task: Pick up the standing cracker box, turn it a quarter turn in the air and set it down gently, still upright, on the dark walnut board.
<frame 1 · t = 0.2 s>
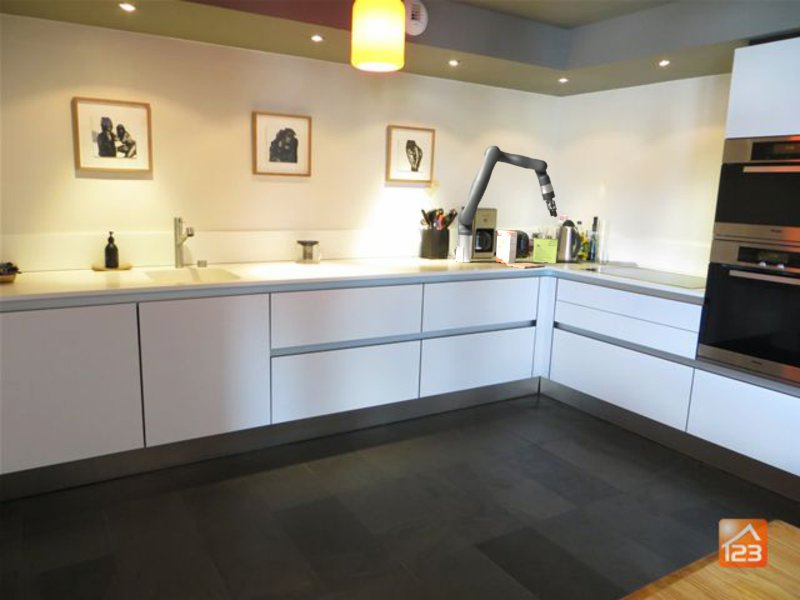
hand: (554, 216, 368), 31 cm above the table, tool tilted 20°, fingers open, 8 cm apart
cracker box: (505, 263, 375), on the table
protein box: (544, 262, 393), on the table
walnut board: (525, 266, 362), on the table
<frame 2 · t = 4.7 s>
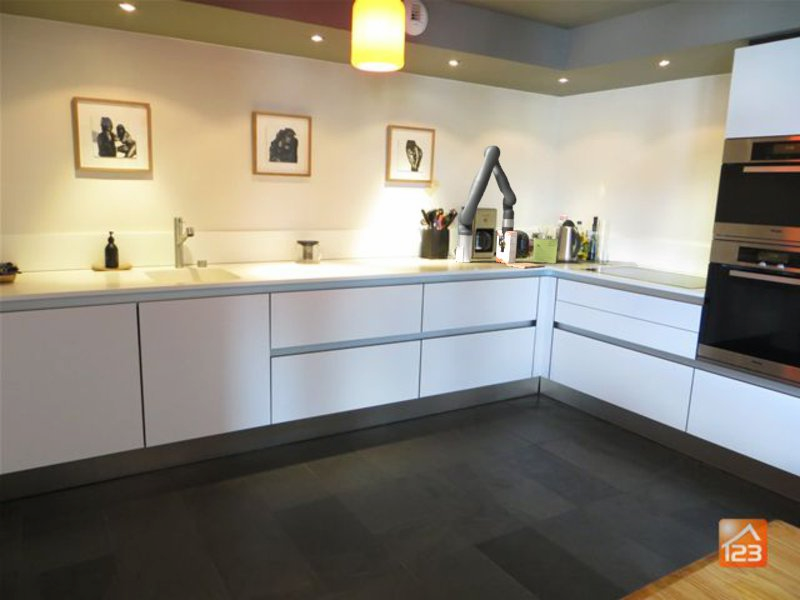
hand: (505, 252, 374), 7 cm above the table, tool pointing down, fingers closed on cracker box, 7 cm apart
cracker box: (505, 263, 375), on the table, touching gripper
everything else where it was.
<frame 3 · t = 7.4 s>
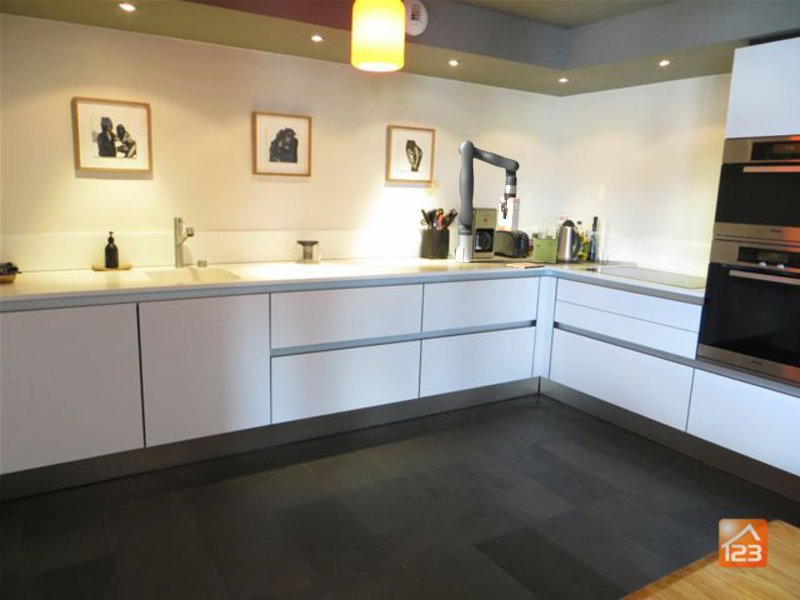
hand: (508, 219, 370), 28 cm above the table, tool pointing down, fingers closed on cracker box, 6 cm apart
cracker box: (507, 230, 371), point 21 cm above the table, touching gripper
everything else where it was.
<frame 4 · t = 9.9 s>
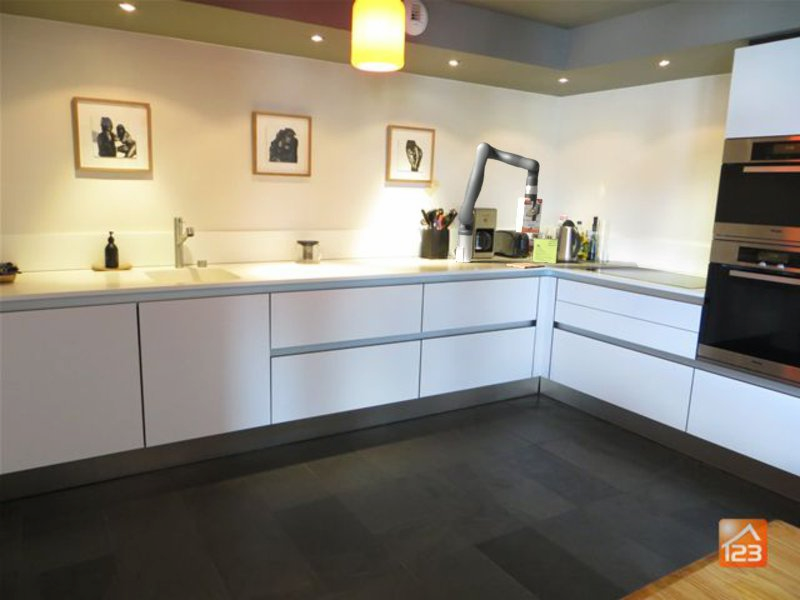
hand: (528, 220, 356), 28 cm above the table, tool pointing down, fingers closed on cracker box, 6 cm apart
cracker box: (527, 232, 358), point 21 cm above the table, touching gripper
everything else where it was.
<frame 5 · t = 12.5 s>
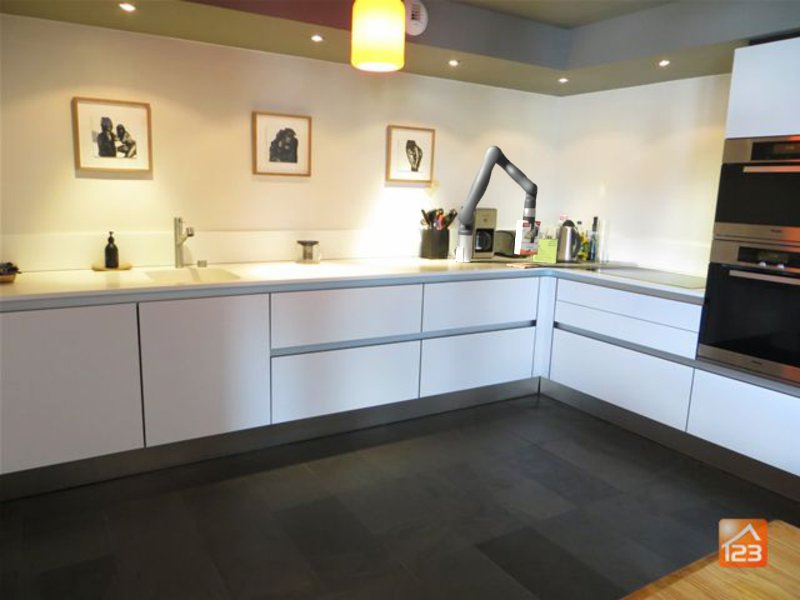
hand: (527, 242, 359), 15 cm above the table, tool pointing down, fingers closed on cracker box, 6 cm apart
cracker box: (526, 254, 360), point 7 cm above the table, touching gripper
everything else where it was.
when the fingers open (10 cm above the table, at t = 15.0 s): cracker box drops 1 cm, resting on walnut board.
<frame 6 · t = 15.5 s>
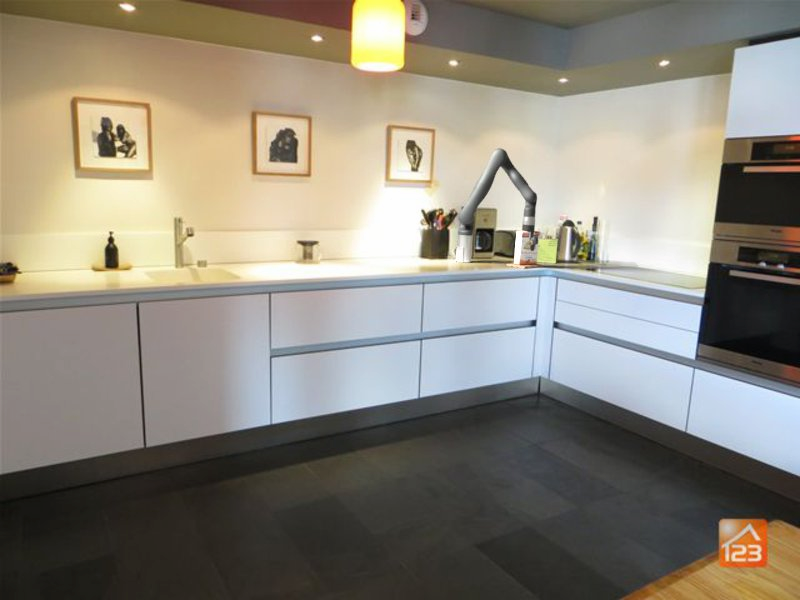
hand: (526, 250, 360), 10 cm above the table, tool pointing down, fingers open, 8 cm apart
cracker box: (525, 264, 361), point 1 cm above the table, touching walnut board
everything else where it was.
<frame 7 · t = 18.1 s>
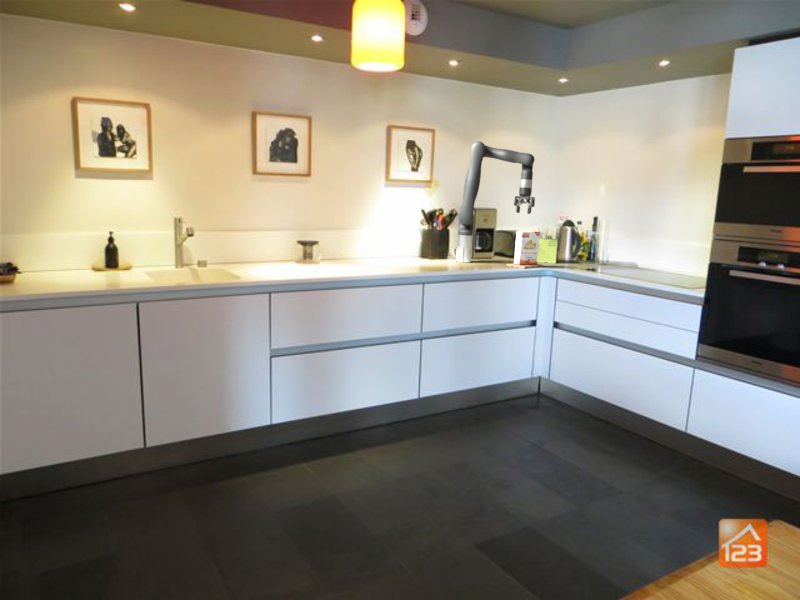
hand: (523, 213, 362), 33 cm above the table, tool pointing down, fingers open, 8 cm apart
nothing on the table moved.
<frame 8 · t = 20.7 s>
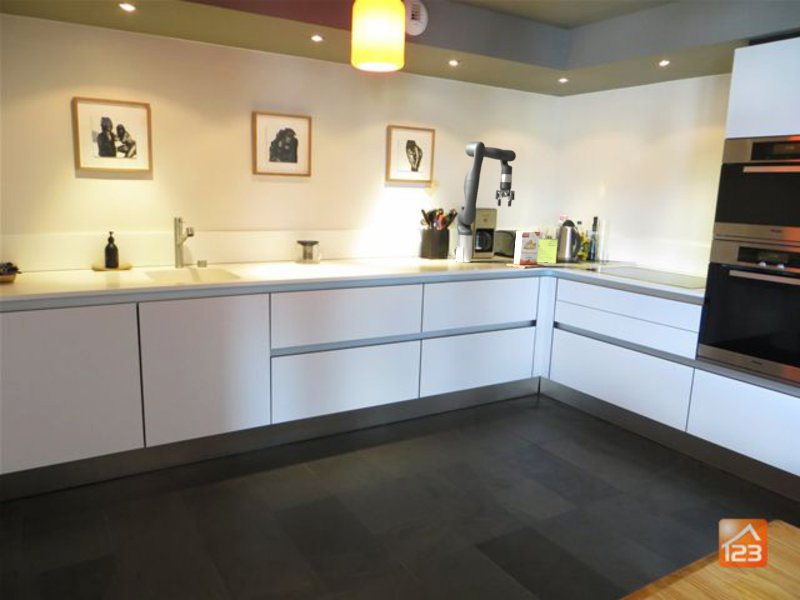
hand: (504, 206, 386), 36 cm above the table, tool pointing down, fingers open, 8 cm apart
nothing on the table moved.
at the end: cracker box inside the target area on the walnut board (0.0 cm from its centre), point 1.0 cm above the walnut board's base; cracker box tilted 0°; the gripper is holding nothing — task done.
